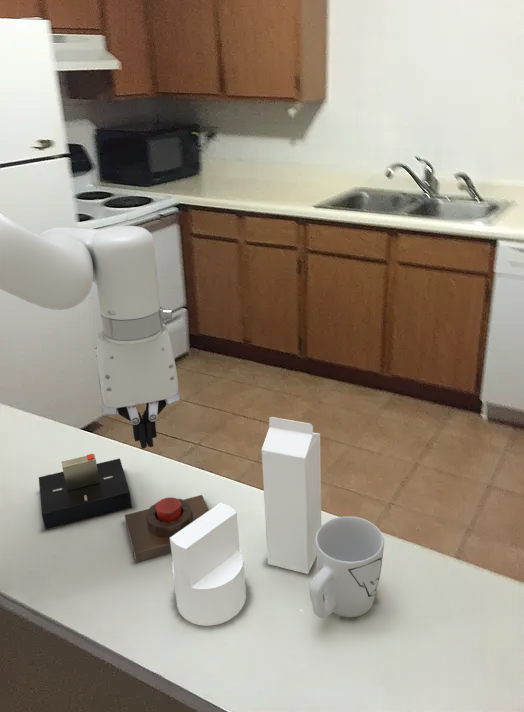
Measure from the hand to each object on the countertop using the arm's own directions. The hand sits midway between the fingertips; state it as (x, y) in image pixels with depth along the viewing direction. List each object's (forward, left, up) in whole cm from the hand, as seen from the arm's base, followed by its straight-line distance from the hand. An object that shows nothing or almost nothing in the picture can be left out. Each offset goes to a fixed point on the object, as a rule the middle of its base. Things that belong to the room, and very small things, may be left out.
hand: (145, 442), depth 94 cm
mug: (+19, -25, -15) cm, 35 cm away
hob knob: (-9, +11, -12) cm, 19 cm away
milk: (+17, -14, -15) cm, 26 cm away
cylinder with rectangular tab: (+4, -17, -15) cm, 23 cm away
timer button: (+2, -2, -12) cm, 12 cm away
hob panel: (-9, +11, -15) cm, 21 cm away
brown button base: (+2, -2, -15) cm, 15 cm away
